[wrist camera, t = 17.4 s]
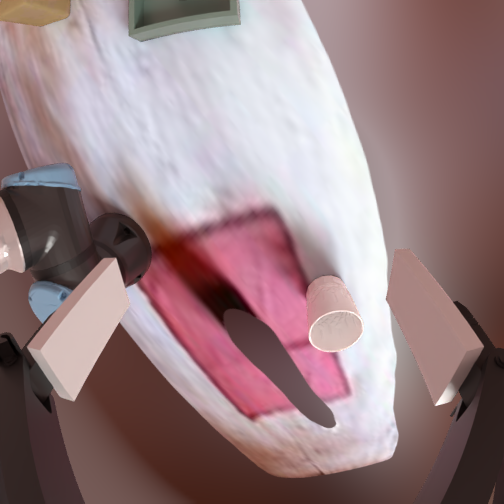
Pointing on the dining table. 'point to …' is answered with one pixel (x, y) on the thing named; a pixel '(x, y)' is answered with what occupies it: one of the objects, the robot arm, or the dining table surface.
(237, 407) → the dining table surface
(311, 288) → the white cup
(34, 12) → the cheese
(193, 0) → the grey-green shallow box
